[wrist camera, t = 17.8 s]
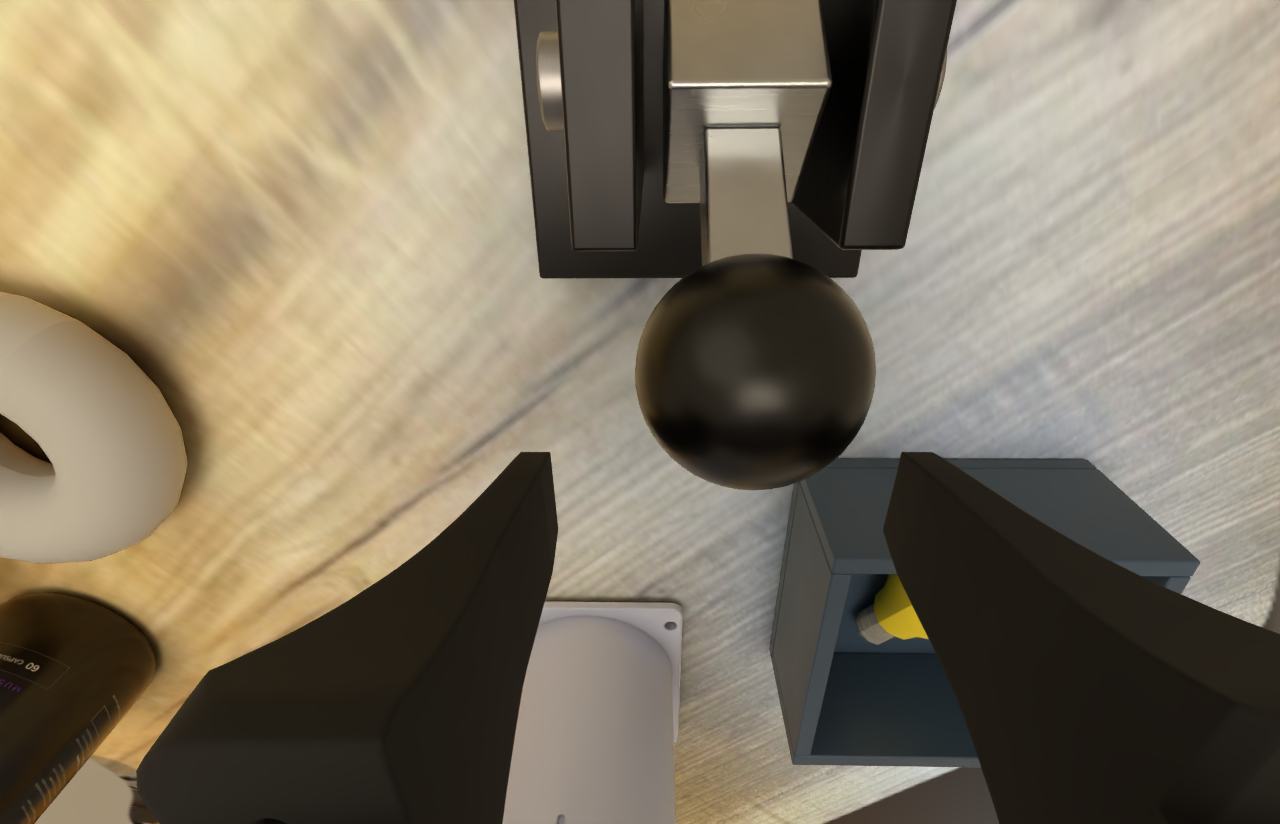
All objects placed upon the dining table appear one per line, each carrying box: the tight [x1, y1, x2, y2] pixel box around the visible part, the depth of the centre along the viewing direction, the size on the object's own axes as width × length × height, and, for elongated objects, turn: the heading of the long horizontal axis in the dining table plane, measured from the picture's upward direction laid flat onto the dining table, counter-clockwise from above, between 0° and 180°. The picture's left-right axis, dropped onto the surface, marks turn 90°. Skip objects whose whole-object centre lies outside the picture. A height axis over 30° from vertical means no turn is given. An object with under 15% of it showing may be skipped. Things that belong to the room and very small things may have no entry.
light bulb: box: [856, 574, 928, 645], centre depth 22 cm, size 3×6×4 cm, turn 154°
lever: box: [635, 0, 876, 490], centre depth 9 cm, size 8×3×3 cm
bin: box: [770, 459, 1200, 767], centre depth 22 cm, size 10×10×5 cm
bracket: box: [514, 0, 957, 278], centre depth 12 cm, size 10×9×9 cm
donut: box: [0, 292, 188, 563], centre depth 19 cm, size 10×3×10 cm
